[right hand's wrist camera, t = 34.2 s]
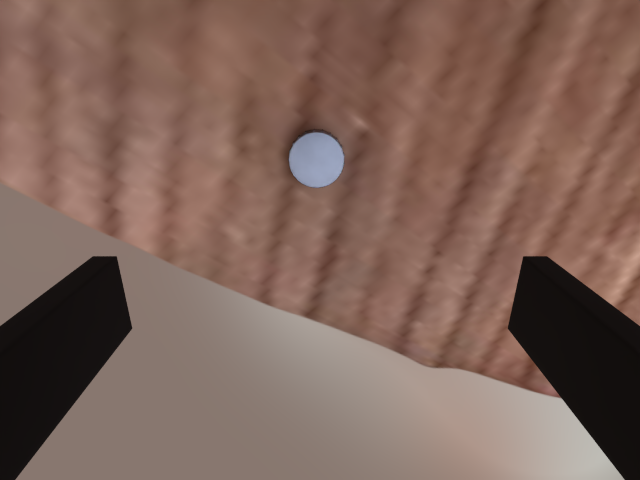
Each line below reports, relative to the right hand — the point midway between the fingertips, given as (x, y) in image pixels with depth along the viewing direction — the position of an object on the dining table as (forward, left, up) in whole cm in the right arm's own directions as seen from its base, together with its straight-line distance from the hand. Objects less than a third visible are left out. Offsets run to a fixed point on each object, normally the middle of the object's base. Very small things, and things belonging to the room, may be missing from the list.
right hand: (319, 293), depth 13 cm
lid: (0, 0, -25) cm, 25 cm away
